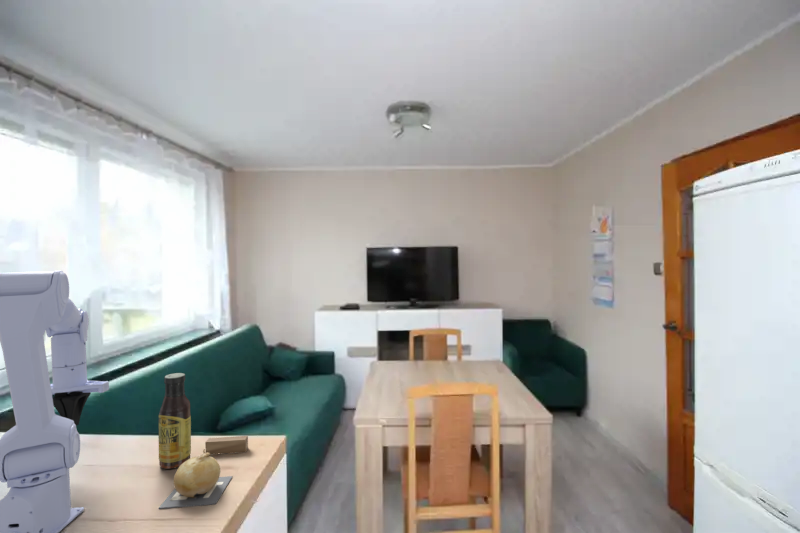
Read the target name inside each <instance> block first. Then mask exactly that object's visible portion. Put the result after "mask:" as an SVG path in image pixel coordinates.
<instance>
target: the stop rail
mask: <svg viewBox="0 0 800 533" xmlns="http://www.w3.org/2000/svg"><path fill="white" fill-rule="evenodd" d="M204 444H205V453H207V452H208V453H210V454H213V455H222V454H221V453H228V454H236V453H235V452H242V453H246V452H247V451H248V450H249V436H248V435H239V436H226V437H225V436H224V437H223V436H221V437H209V438H208V439H207V440H206V441H205V443H204ZM218 453H220V454H218Z"/></svg>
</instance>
